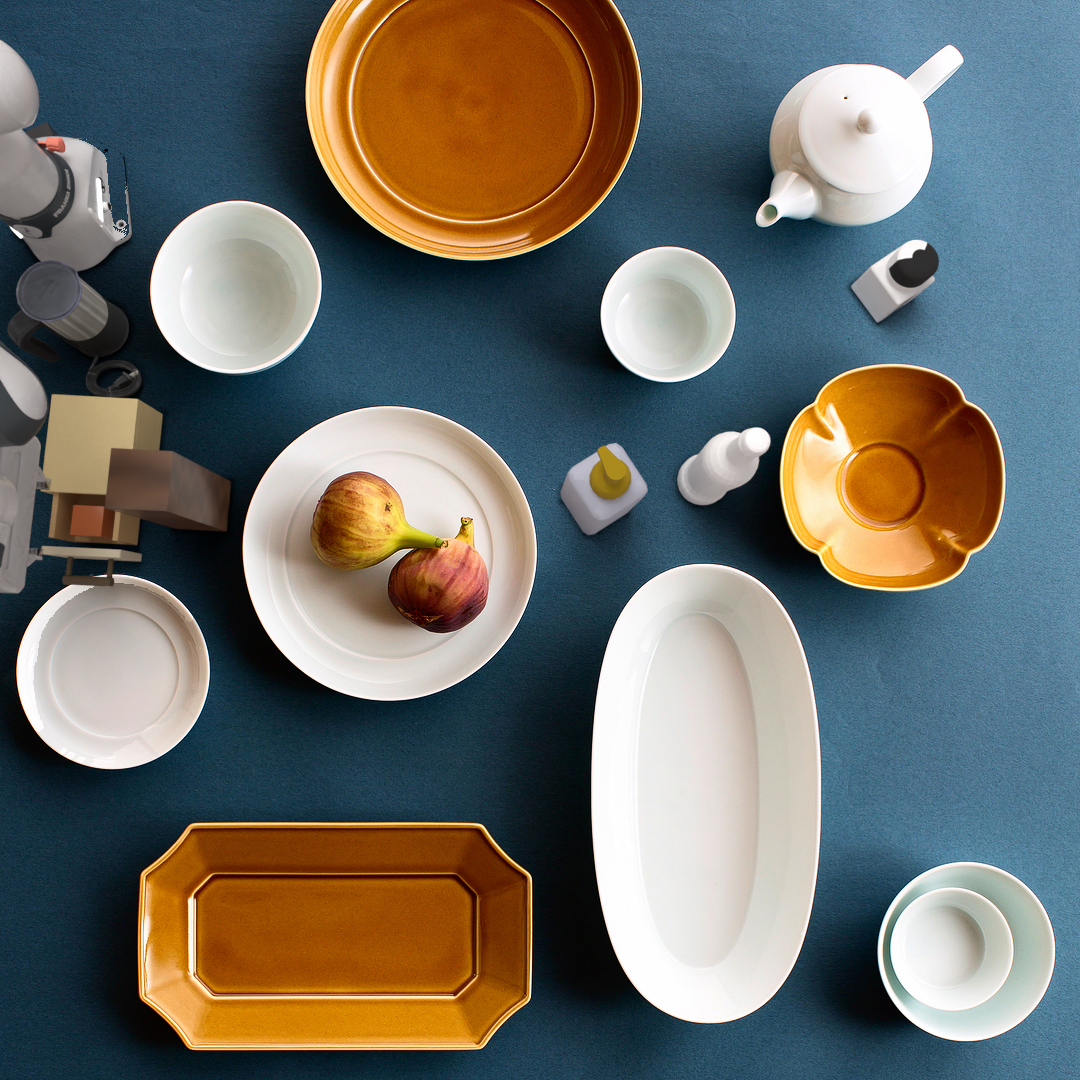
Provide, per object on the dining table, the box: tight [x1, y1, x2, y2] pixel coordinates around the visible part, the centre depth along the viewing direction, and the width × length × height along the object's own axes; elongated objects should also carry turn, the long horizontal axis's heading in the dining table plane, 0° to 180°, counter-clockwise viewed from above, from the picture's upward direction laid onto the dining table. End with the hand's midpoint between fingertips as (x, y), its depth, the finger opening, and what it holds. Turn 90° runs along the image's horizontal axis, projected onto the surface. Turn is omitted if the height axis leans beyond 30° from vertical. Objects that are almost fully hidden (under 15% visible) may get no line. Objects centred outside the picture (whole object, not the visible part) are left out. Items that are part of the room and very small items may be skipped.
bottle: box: [676, 427, 771, 506], centre depth 114 cm, size 8×8×30 cm
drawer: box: [41, 492, 143, 588], centre depth 119 cm, size 18×11×7 cm, turn 177°
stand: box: [105, 448, 232, 533], centre depth 114 cm, size 8×8×22 cm
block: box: [70, 505, 115, 540], centre depth 119 cm, size 4×4×5 cm
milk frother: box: [7, 260, 143, 398], centre depth 119 cm, size 14×16×15 cm
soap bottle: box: [559, 442, 649, 536], centre depth 115 cm, size 9×9×25 cm
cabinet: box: [40, 393, 164, 495], centre depth 121 cm, size 15×13×9 cm
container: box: [850, 239, 940, 323], centre depth 127 cm, size 8×8×13 cm
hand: (41, 519), depth 105 cm, fingers open, 8 cm apart
